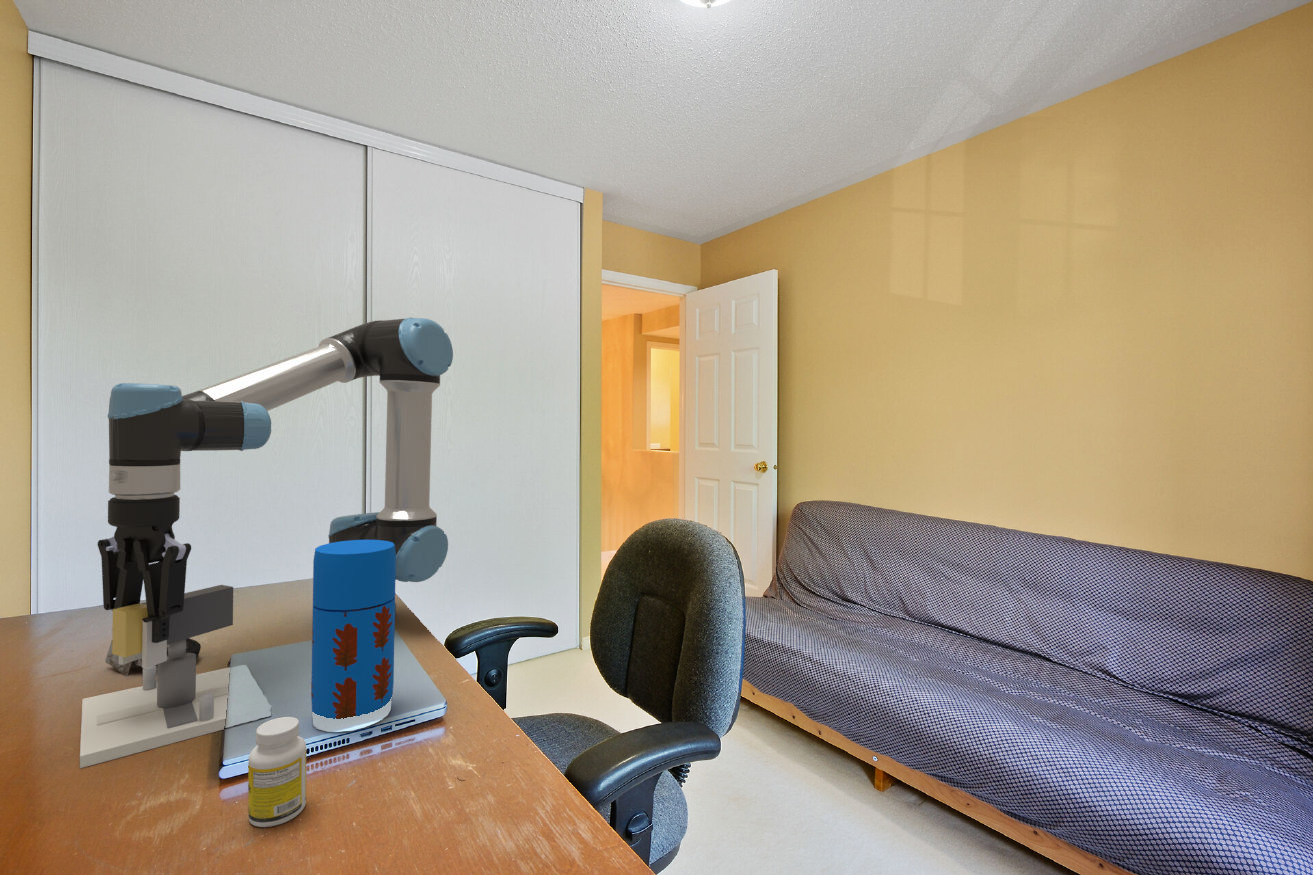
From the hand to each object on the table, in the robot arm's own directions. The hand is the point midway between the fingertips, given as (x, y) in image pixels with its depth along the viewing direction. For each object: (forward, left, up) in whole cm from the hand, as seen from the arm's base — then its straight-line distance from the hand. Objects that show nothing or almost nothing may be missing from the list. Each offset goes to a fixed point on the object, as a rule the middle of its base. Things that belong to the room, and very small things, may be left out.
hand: (142, 662), depth 82 cm
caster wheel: (-3, -25, -9) cm, 27 cm away
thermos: (-23, +15, -9) cm, 29 cm away
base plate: (-4, -2, -9) cm, 10 cm away
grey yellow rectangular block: (-4, -2, -1) cm, 4 cm away
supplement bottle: (-10, +33, -9) cm, 36 cm away
